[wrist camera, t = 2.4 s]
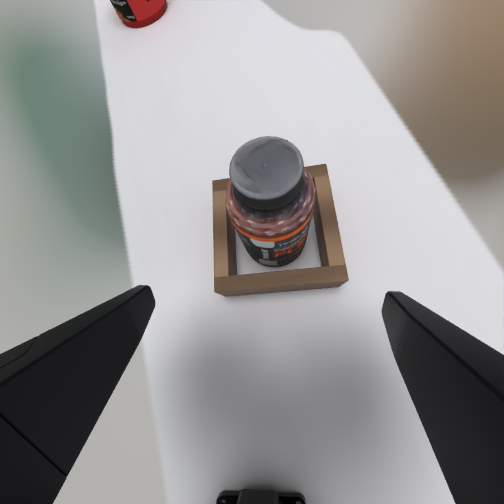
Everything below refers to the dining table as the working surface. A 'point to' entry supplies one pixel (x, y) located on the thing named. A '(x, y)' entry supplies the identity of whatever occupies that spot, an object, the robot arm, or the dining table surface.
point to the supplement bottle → (270, 199)
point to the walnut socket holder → (287, 280)
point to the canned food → (139, 11)
